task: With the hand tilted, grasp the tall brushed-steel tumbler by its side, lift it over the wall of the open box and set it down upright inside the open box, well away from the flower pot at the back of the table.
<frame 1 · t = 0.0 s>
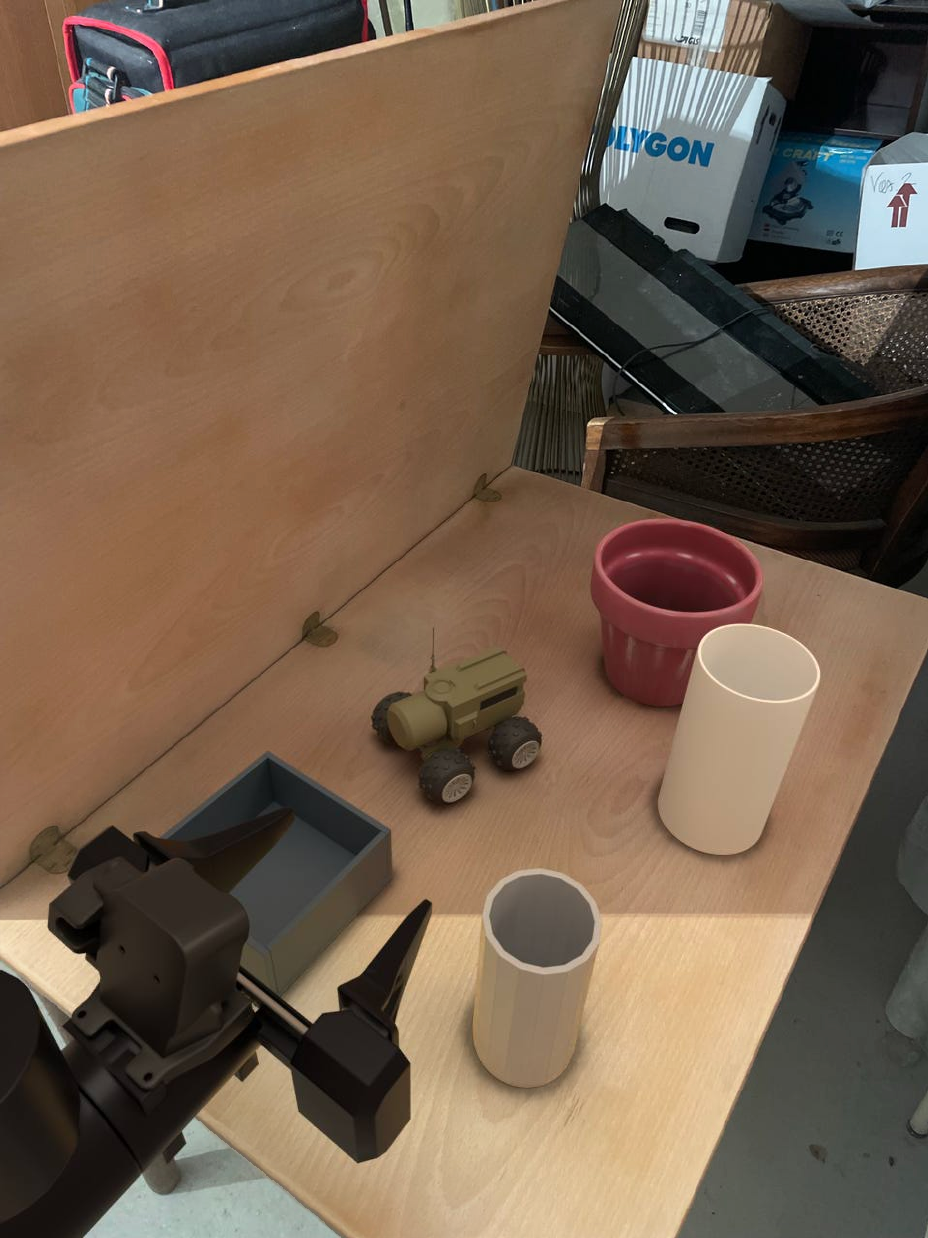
hand: (357, 857, 45), 18 cm above the table, tool horizontal, fingers open, 9 cm apart
flower pot: (653, 675, 84), on the table
toy vehicle: (454, 750, 76), on the table
cup: (709, 814, 71), on the table
open box: (274, 891, 64), on the table
tumbler: (523, 1036, 57), on the table
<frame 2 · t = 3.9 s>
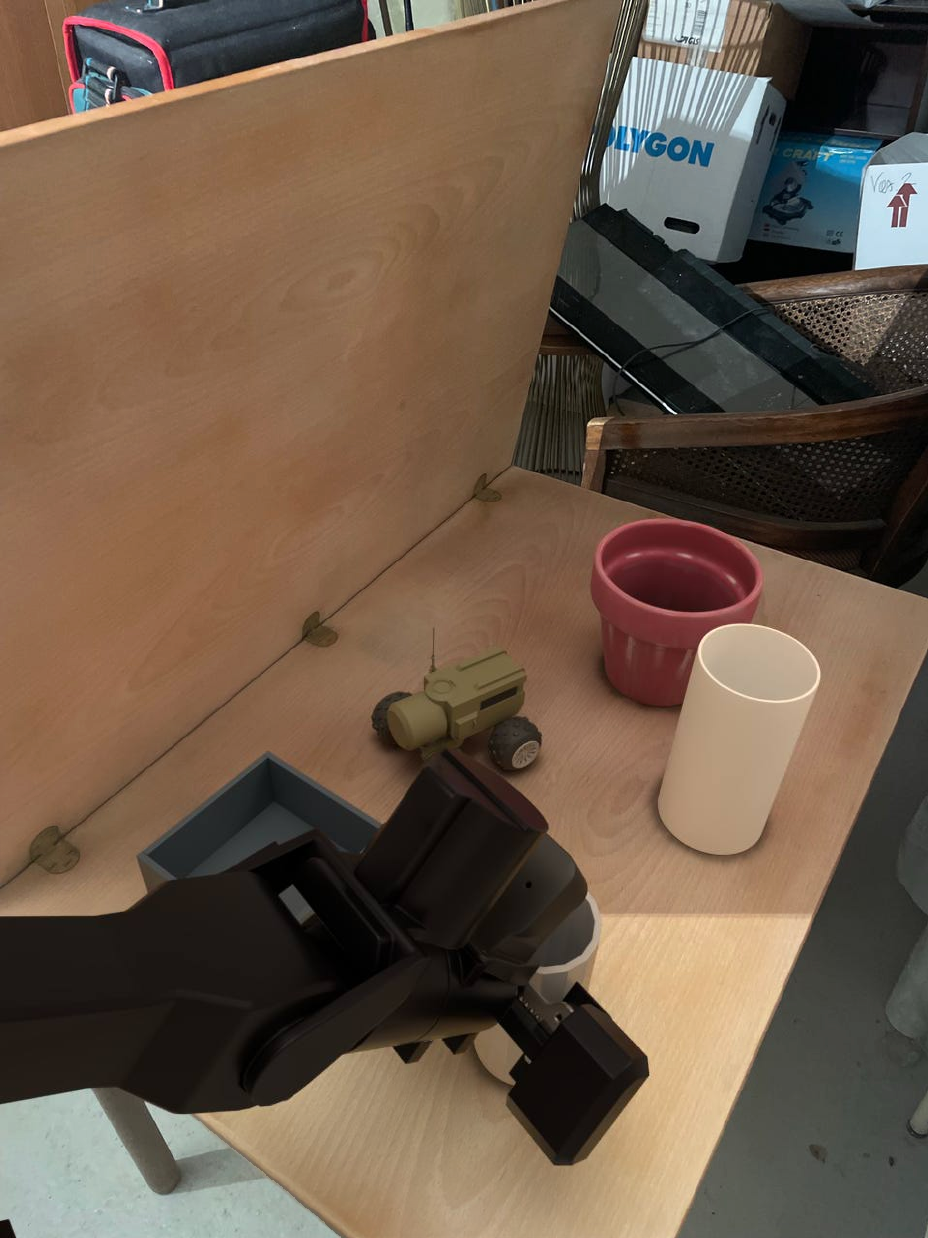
hand: (549, 967, 53), 7 cm above the table, tool tilted 45°, fingers closed on tumbler, 6 cm apart
tumbler: (523, 1035, 57), on the table, touching gripper
everything else where it was.
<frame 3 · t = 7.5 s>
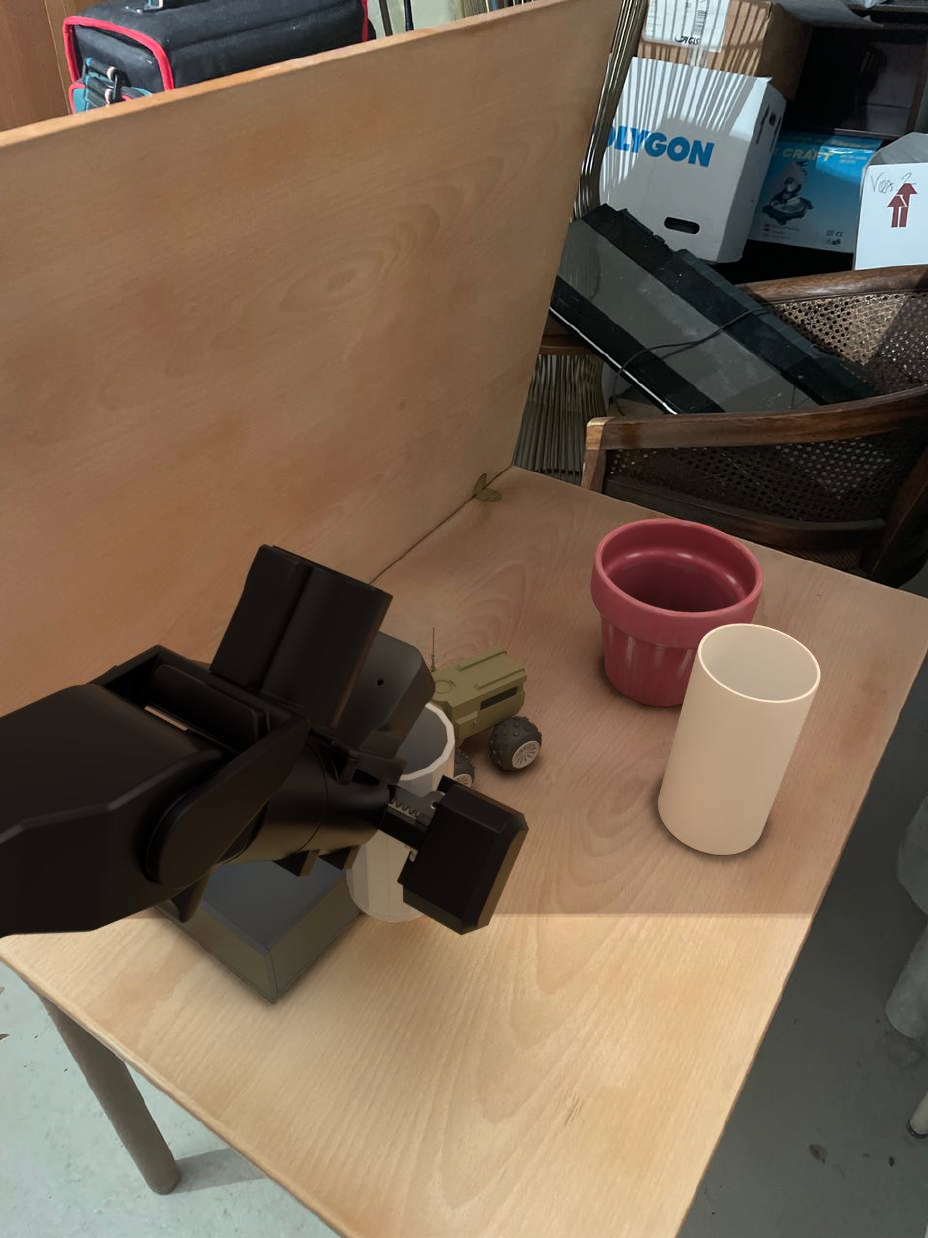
hand: (410, 796, 54), 13 cm above the table, tool tilted 45°, fingers closed on tumbler, 6 cm apart
tumbler: (397, 878, 57), point 7 cm above the table, touching gripper
everything else where it was.
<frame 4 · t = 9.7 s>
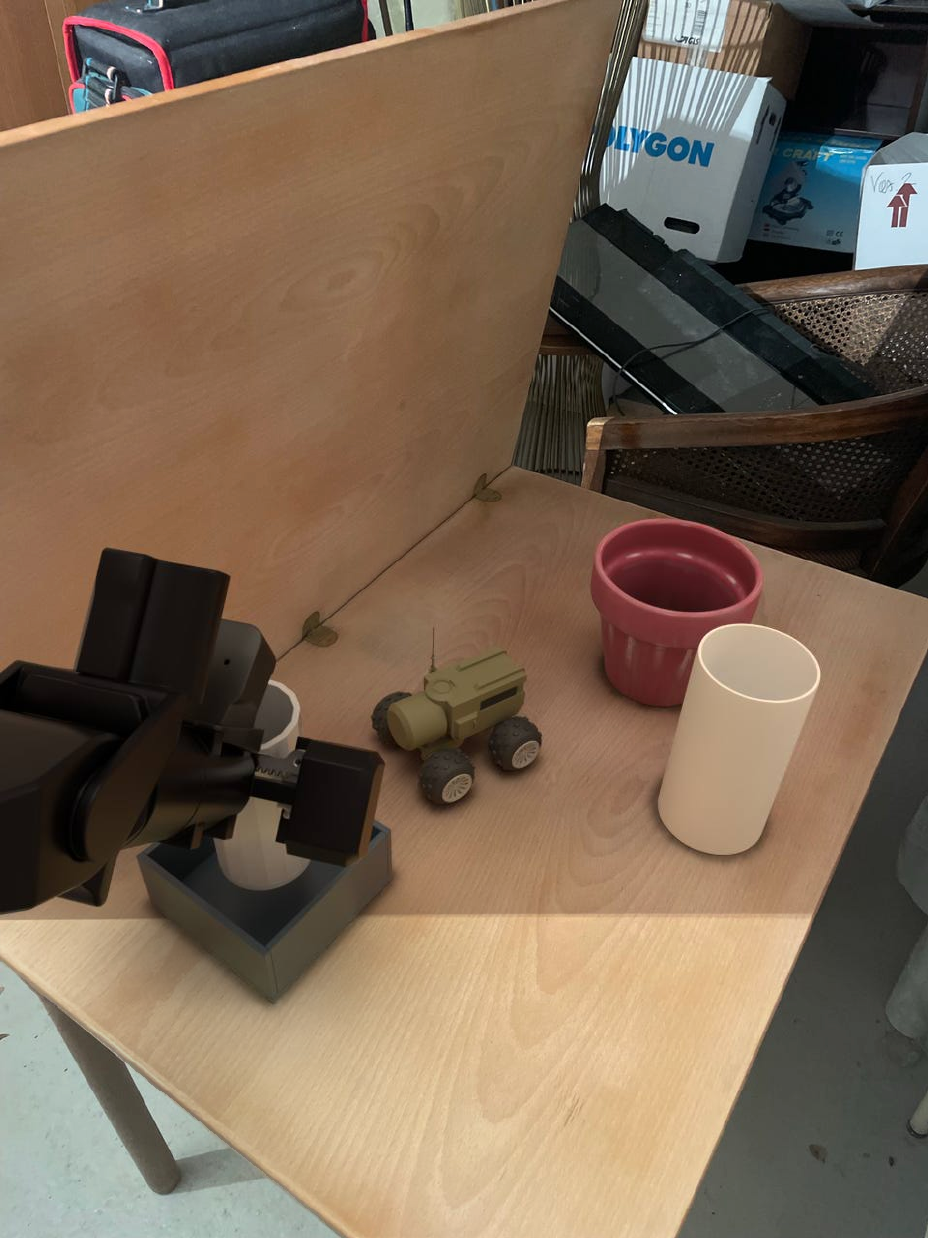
hand: (265, 770, 58), 11 cm above the table, tool tilted 45°, fingers closed on tumbler, 6 cm apart
tumbler: (266, 850, 61), point 5 cm above the table, touching gripper
everything else where it was.
when the fingers open (7 cm above the table, at t = 11.5 s): tumbler stays where it is, resting on open box.
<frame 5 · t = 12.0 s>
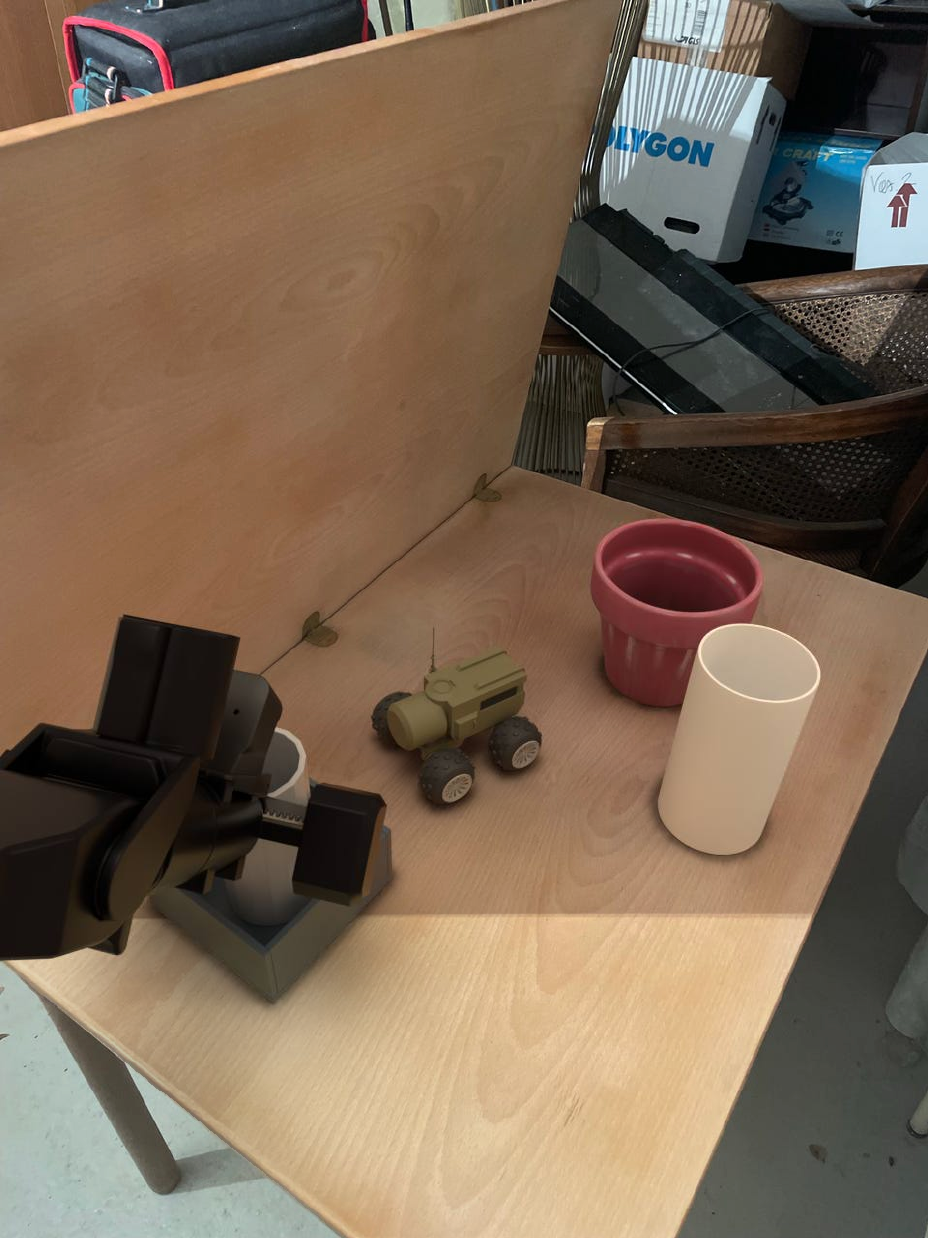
hand: (271, 805, 61), 8 cm above the table, tool tilted 45°, fingers open, 9 cm apart
tumbler: (273, 886, 64), point 1 cm above the table, touching open box
everything else where it was.
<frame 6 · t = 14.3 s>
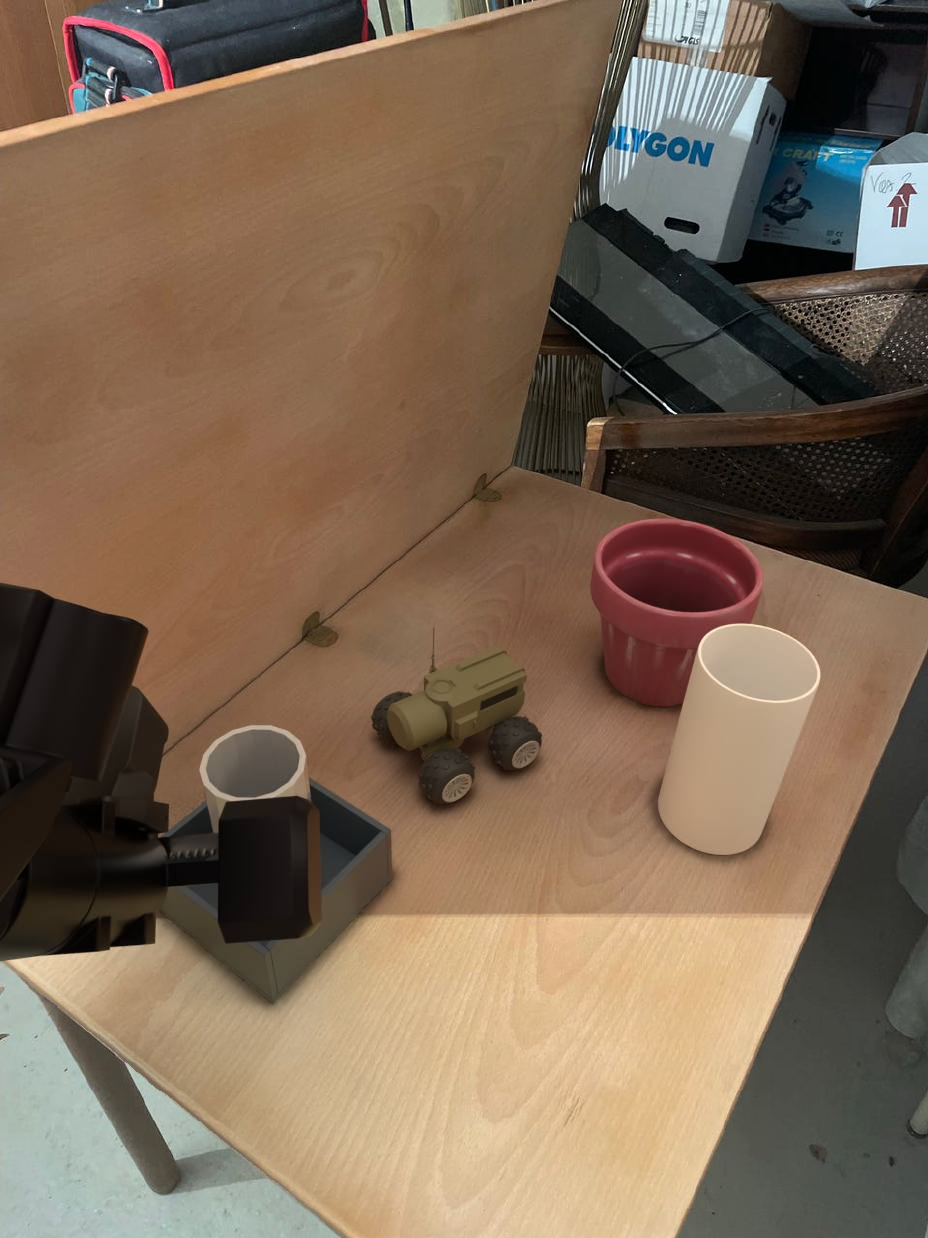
hand: (190, 880, 50), 13 cm above the table, tool tilted 35°, fingers open, 9 cm apart
nothing on the table moved.
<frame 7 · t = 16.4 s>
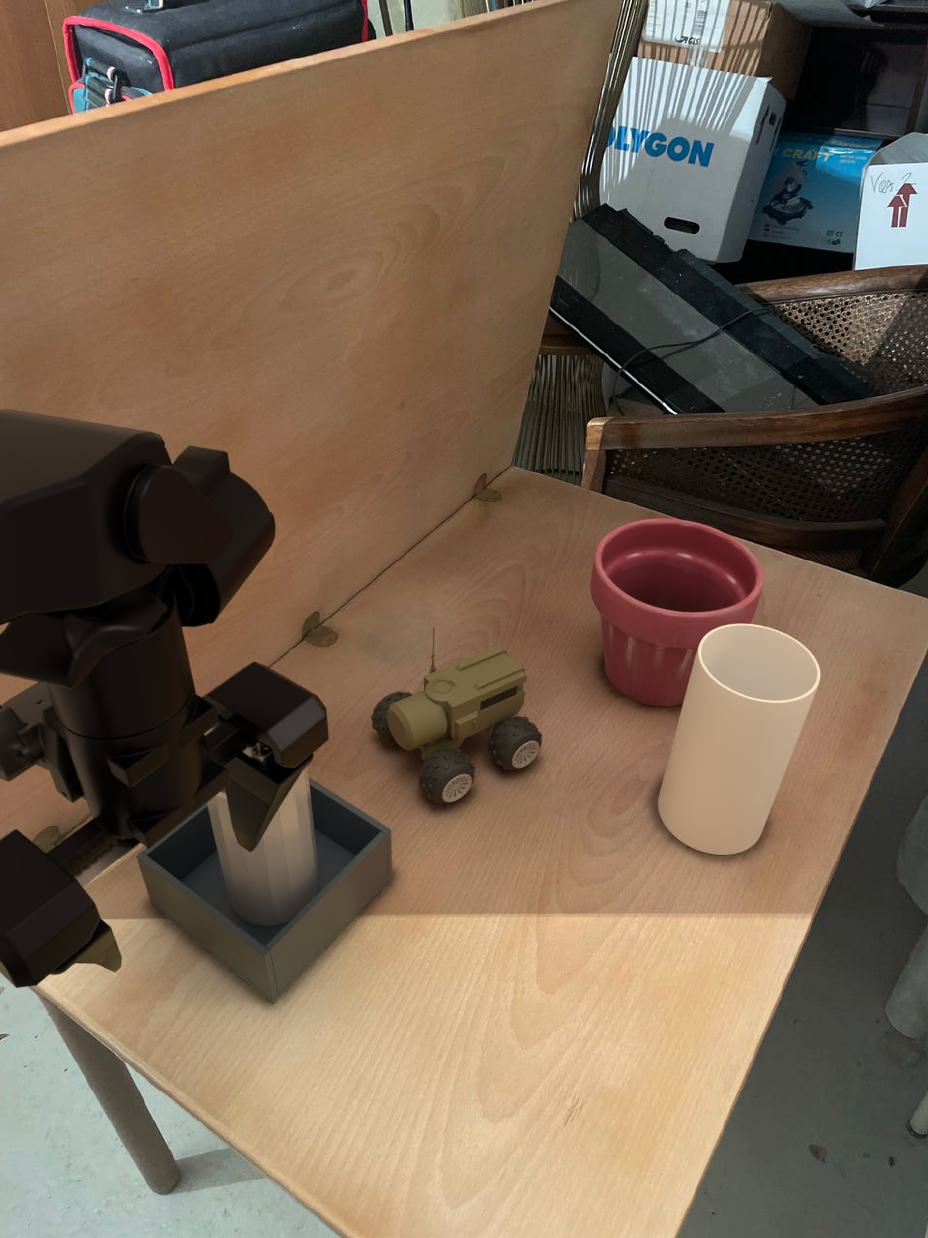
hand: (183, 902, 49), 13 cm above the table, tool pointing down, fingers open, 9 cm apart
nothing on the table moved.
at the end: tumbler inside the target area in the open box (0.0 cm from its centre), point 0.6 cm above the open box's base; tumbler tilted 0°; tumbler touching open box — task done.
